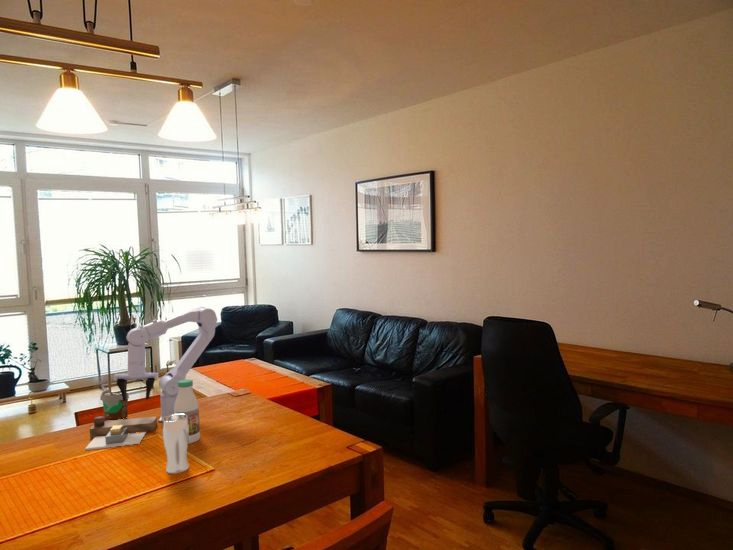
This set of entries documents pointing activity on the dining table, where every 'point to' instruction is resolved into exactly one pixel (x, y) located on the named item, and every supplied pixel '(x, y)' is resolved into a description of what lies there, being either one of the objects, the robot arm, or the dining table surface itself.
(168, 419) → the beer glass
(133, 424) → the body
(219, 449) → the dining table surface
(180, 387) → the milk bottle
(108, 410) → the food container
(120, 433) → the lever cap
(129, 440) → the rubber mat
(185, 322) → the robot arm
